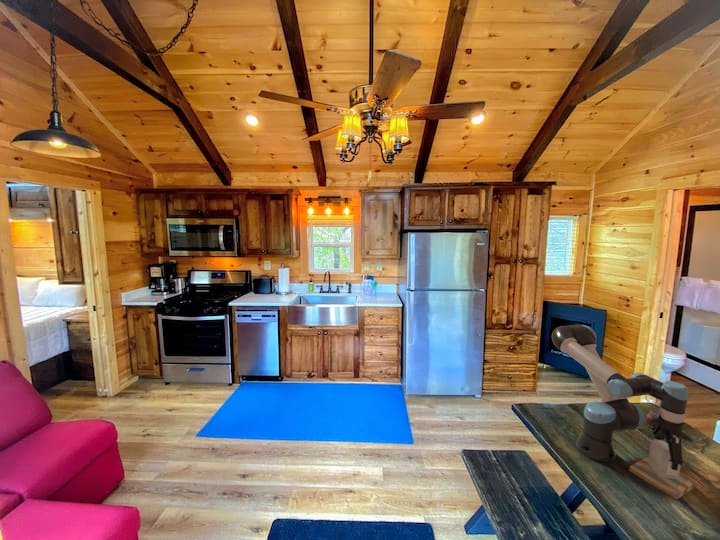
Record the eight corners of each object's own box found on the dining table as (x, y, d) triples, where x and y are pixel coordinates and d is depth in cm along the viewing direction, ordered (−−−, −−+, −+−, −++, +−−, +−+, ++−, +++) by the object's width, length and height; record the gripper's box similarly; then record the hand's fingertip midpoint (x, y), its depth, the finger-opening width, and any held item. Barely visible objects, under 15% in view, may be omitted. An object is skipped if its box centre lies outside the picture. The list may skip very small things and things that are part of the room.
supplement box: (679, 480, 129) (683, 453, 127) (658, 476, 131) (662, 450, 129) (666, 467, 136) (670, 441, 135) (646, 463, 138) (650, 438, 136)
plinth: (676, 499, 124) (677, 493, 123) (629, 470, 138) (630, 464, 138) (696, 486, 130) (697, 480, 129) (649, 460, 144) (649, 454, 144)
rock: (673, 438, 161) (670, 428, 169) (679, 424, 159) (676, 415, 166) (643, 426, 168) (642, 417, 176) (649, 413, 166) (647, 404, 173)
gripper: (700, 439, 117) (691, 488, 120) (668, 405, 139) (662, 447, 143) (674, 434, 120) (666, 482, 123) (647, 401, 143) (641, 442, 146)
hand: (664, 463), depth 133 cm, fingers open, 13 cm apart
